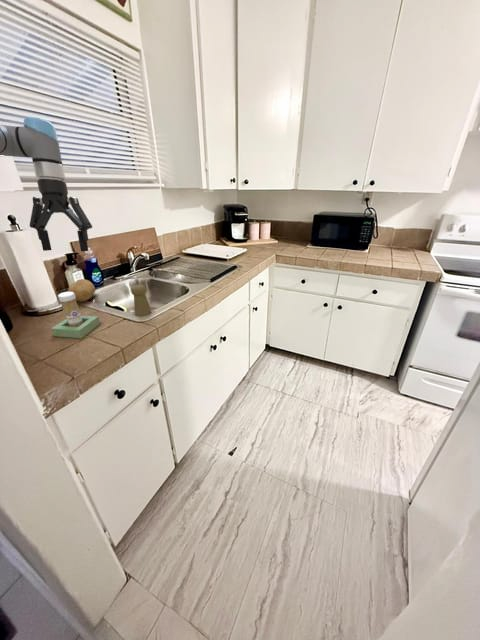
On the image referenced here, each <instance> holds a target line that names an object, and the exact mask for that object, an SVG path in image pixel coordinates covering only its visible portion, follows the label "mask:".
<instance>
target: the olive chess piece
mask: <svg viewBox="0 0 480 640" xmlns="http://www.w3.org/2000/svg"><path fill="white" fill-rule="evenodd" d="M130 291H131V294H132V295H133V304H134V305H133V306H134V315H135V316H138V317H142V316H147V315H149V314H150V313H152V309H151V307H150V303H149V301H148V298H147V295H146V294H147V288H146V286H145V285H143V284H136V285H133V286H132V287H131V289H130Z"/></svg>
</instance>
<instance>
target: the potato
mask: <svg viewBox="0 0 480 640" xmlns="http://www.w3.org/2000/svg"><path fill="white" fill-rule="evenodd" d="M67 292H74V294H75V297H76V298H75V299H76V302H82V303H84V302H86V301H88V300H90V299H92V298H93V296H94V294H95V293H96V287H95V285H94V284H93V282H91V281H90V280H89V279H84V278H80V279H78V280H76V281H74V282H73V283H71V284H70V285H69V287H67Z"/></svg>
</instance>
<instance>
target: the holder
mask: <svg viewBox="0 0 480 640" xmlns="http://www.w3.org/2000/svg"><path fill="white" fill-rule="evenodd" d="M81 317H82V321H83V324H81V325H80V326H79V327H69V324H68V322H67V320H66V318H65V319H64V320H62V321H60V322H59V323H57V324H56V325H54V326H53V327H51V332H52V334H53V336H54V337H58V338H59V337H60V338H73V339H83V338H84V337H85V336H87V335H88V334H89V333H90V332H92V331H93V330H95V328H97V327H98V326H99V325H100V324H101V322H100V318H99V316H97V315H96V316H95V315H82V314H81Z"/></svg>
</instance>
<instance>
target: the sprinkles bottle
mask: <svg viewBox="0 0 480 640" xmlns="http://www.w3.org/2000/svg"><path fill="white" fill-rule="evenodd" d="M75 298H76V297H75V294H74V292H68V291H64V292H60V293H59V294H58V295H57V299H58V301H59V302H60V304H61V307H62V311H63V314H64V317H65V319H66V320H67V322H68V324H69V327H79V326H80V325H81V324H83V321H82V317H81V315H82V314H81V310H80V307H79V305H78V303H77V302H78V301H76V299H75Z"/></svg>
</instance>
